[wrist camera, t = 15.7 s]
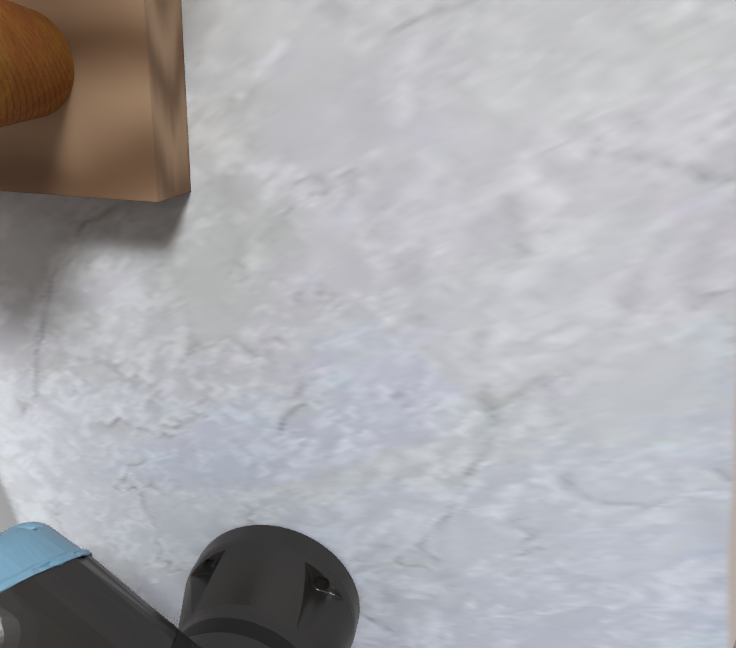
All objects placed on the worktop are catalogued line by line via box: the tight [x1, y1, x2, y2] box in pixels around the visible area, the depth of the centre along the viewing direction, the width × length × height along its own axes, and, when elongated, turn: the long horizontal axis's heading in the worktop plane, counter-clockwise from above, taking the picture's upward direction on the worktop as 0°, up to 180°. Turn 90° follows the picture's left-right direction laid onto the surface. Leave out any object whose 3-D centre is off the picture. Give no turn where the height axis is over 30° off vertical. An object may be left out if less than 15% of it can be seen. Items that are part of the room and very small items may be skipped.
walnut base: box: [0, 0, 191, 202], centre depth 42 cm, size 16×16×5 cm
